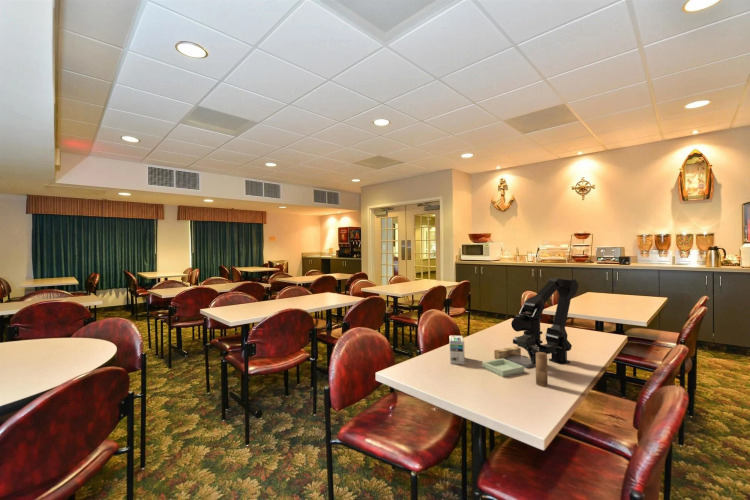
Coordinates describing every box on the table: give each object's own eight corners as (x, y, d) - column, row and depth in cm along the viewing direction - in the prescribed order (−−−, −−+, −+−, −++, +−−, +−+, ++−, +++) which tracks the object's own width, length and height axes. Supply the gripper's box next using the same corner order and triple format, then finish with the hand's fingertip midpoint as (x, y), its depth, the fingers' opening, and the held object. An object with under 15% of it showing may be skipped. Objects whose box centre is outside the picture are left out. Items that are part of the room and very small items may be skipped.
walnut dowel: (541, 381, 130) (540, 351, 130) (549, 385, 126) (549, 354, 126) (533, 383, 128) (533, 352, 128) (542, 387, 124) (542, 355, 124)
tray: (502, 363, 150) (502, 358, 150) (524, 372, 139) (524, 366, 139) (482, 367, 146) (482, 362, 146) (502, 377, 135) (502, 371, 135)
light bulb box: (464, 364, 150) (464, 341, 150) (449, 363, 151) (449, 340, 151) (463, 357, 161) (463, 335, 161) (449, 356, 162) (449, 334, 162)
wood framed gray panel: (517, 358, 159) (517, 354, 159) (538, 366, 148) (538, 362, 148) (505, 361, 155) (505, 357, 155) (526, 369, 144) (526, 364, 144)
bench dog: (515, 354, 164) (515, 346, 164) (520, 356, 161) (520, 348, 161) (494, 358, 158) (494, 350, 158) (499, 360, 155) (499, 351, 155)
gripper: (503, 326, 151) (504, 360, 151) (538, 335, 134) (538, 373, 134) (521, 324, 155) (521, 356, 155) (556, 332, 138) (557, 369, 138)
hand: (533, 363), depth 146 cm, fingers closed
